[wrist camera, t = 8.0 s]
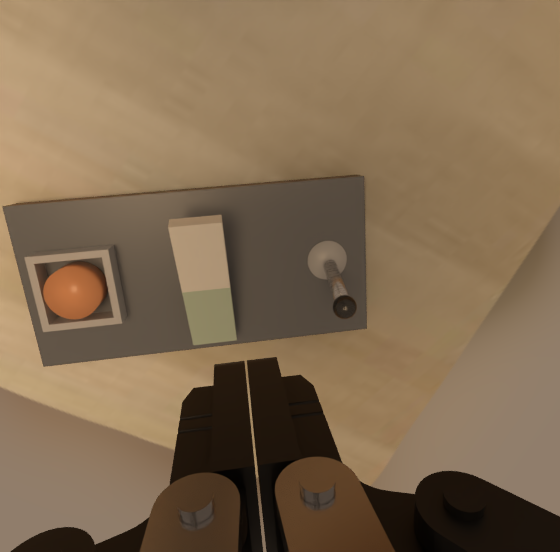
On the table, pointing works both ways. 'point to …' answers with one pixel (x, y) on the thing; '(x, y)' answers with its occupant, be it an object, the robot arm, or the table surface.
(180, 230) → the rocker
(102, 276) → the button
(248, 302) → the panel
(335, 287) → the lever
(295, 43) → the table surface
